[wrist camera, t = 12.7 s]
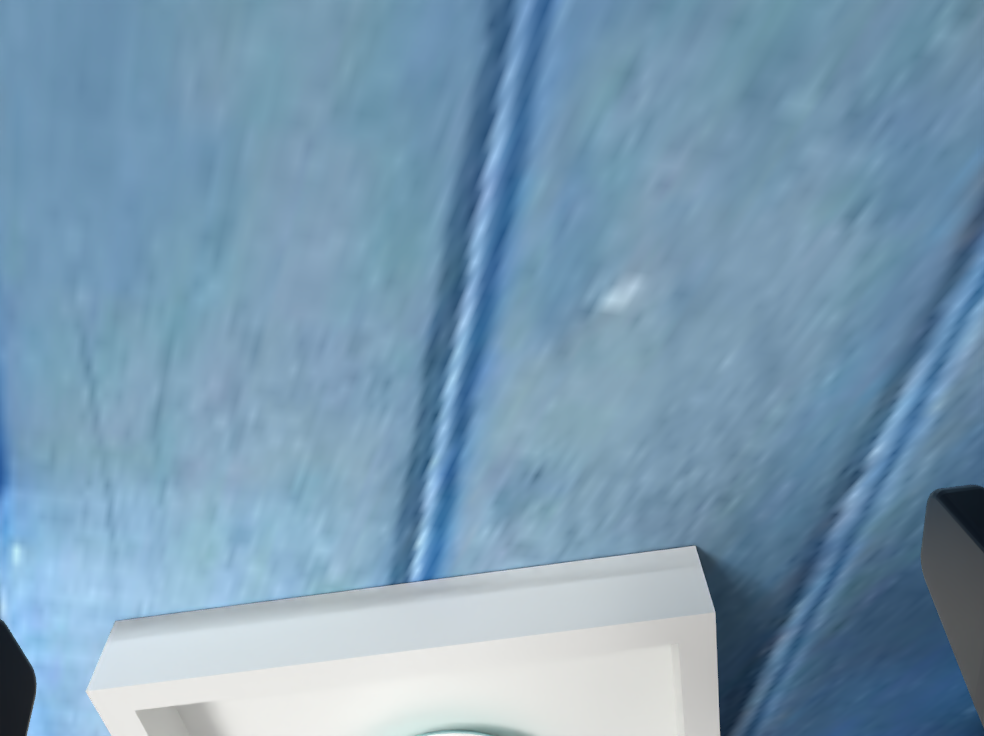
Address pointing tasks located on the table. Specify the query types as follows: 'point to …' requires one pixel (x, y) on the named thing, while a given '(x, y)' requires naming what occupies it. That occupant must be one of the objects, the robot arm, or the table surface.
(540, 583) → the tray
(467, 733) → the can
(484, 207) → the table surface
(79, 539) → the table surface
